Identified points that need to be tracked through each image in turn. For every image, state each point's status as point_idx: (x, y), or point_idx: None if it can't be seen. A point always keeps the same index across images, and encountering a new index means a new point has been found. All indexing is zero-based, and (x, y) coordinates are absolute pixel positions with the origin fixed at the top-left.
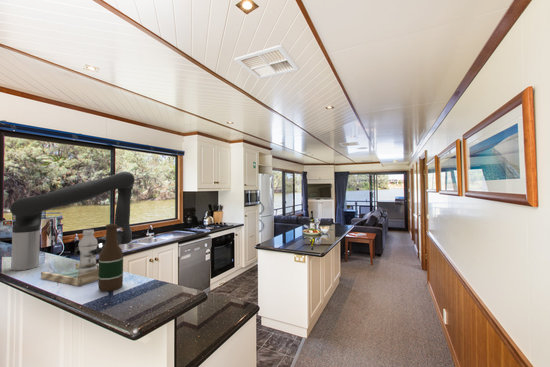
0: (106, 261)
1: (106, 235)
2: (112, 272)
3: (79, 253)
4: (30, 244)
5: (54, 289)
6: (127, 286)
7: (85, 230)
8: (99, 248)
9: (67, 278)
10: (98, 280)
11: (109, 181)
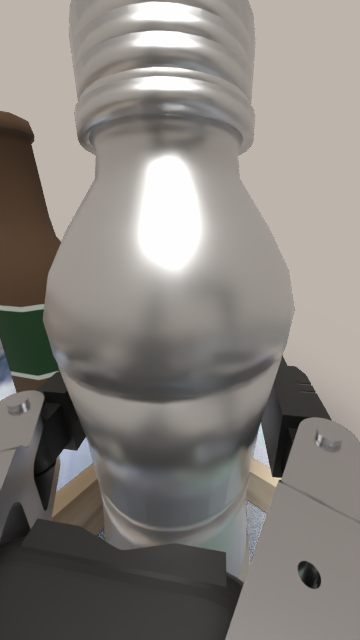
0: None
1: (40, 182)
2: None
3: (264, 416)
4: None
5: (261, 430)
6: (11, 394)
7: (242, 21)
8: (41, 401)
9: (257, 465)
10: None
11: None
